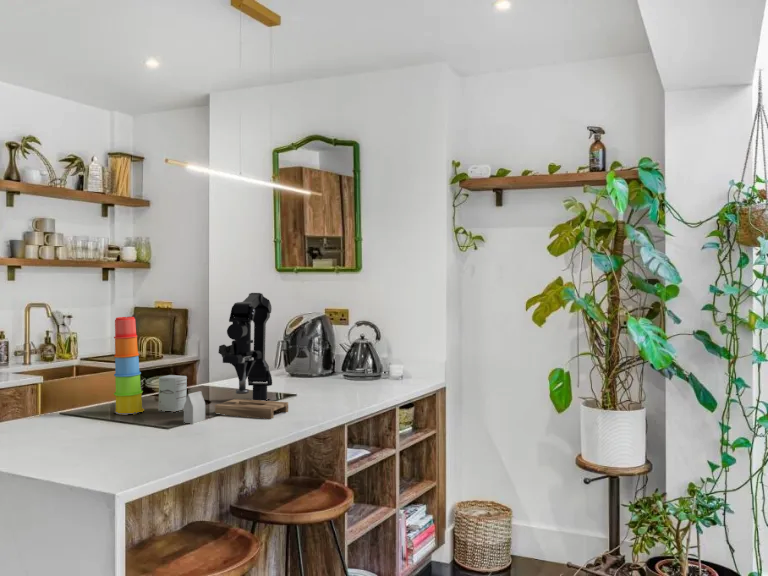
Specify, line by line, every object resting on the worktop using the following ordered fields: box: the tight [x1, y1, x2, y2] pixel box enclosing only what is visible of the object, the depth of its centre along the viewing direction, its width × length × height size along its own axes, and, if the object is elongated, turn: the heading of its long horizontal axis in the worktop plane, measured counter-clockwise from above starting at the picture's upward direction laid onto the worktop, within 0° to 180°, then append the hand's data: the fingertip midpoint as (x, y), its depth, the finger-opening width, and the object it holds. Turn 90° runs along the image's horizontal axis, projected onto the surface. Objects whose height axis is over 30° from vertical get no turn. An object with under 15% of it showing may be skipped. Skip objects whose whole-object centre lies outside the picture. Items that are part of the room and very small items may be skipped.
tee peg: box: [235, 370, 250, 395], centre depth 249 cm, size 5×5×10 cm
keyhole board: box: [214, 398, 289, 420], centre depth 248 cm, size 14×22×4 cm, turn 73°
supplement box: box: [158, 374, 188, 412], centre depth 252 cm, size 7×7×13 cm
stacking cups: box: [113, 316, 145, 413], centre depth 247 cm, size 10×10×35 cm
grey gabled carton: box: [183, 390, 206, 425], centre depth 232 cm, size 4×7×10 cm, turn 159°
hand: (242, 380), depth 249 cm, fingers closed on tee peg, 2 cm apart
